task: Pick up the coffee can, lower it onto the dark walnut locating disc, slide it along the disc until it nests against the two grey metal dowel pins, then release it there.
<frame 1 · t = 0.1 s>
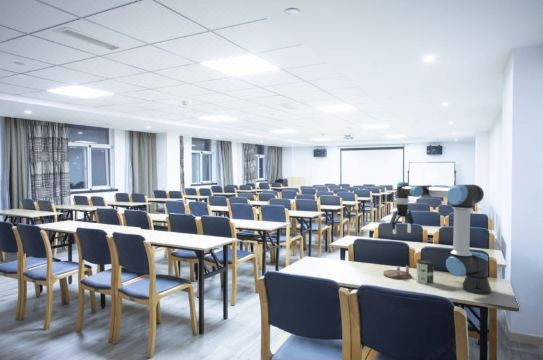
hand: (401, 233, 262), 28 cm above the table, fingers open, 13 cm apart
locating disc: (397, 275, 253), on the table
coffee can: (424, 282, 238), on the table
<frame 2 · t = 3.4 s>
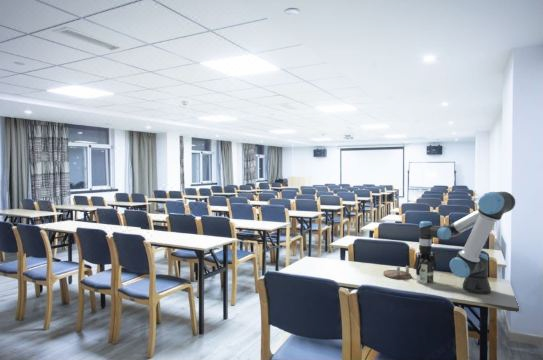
hand: (424, 278, 238), 2 cm above the table, fingers closed on coffee can, 10 cm apart
coffee can: (424, 282, 238), on the table, touching gripper
when the fingers open (4 cm above the table, at t = 10.4 s): coffee can stays where it is, resting on locating disc.
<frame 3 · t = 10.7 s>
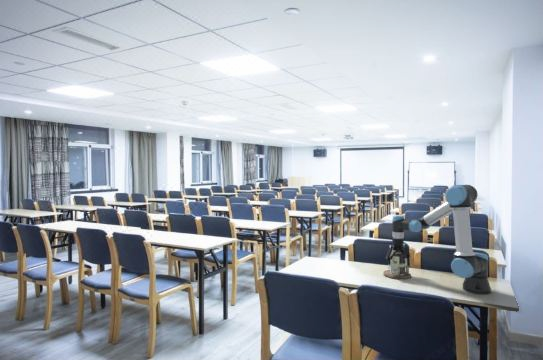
hand: (397, 268, 252), 5 cm above the table, fingers open, 13 cm apart
coffee can: (397, 273, 252), point 1 cm above the table, touching locating disc
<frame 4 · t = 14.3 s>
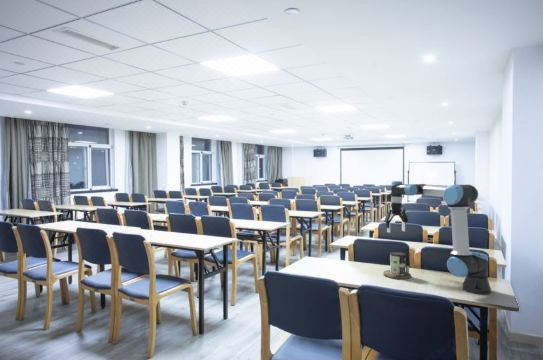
hand: (396, 231, 263), 29 cm above the table, fingers open, 13 cm apart
nothing on the table moved.
at the end: coffee can 0.2 cm off-centre on the locating disc, point 1.4 cm above the locating disc's base; coffee can tilted 0°; the gripper is holding nothing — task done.
